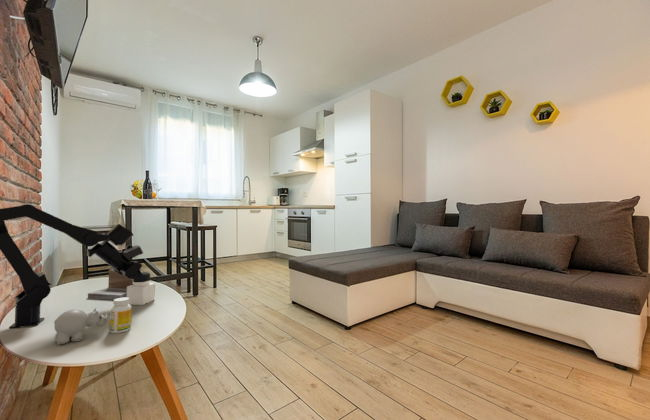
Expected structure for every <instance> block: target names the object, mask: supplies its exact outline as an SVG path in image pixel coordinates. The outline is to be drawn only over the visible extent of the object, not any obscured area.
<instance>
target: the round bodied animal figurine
mask: <svg viewBox="0 0 650 420" xmlns="http://www.w3.org/2000/svg"><path fill="white" fill-rule="evenodd" d="M108 317H109V315H108V313H107V312H106V313H105V316H104V315H102V314H101V313H100V312H99V310H97V308H94V309H93V310H92V311H91V312H88V313H86V312H84V311H83V310H80V309H70V310H66V311H64V312H63V313H61V314H60V315H59V316H58V317H57V318H56V319H55V320H54V322H53V324H54V330H55V332H56V334H55V336H54V340H55V342H56V343H57V345H64V344H66V343H69V342H70V341H71V342H79V341H82V340H83V339H84V333H83V331H84V330H85V329H86V328H87V327H95V326H97V327H103V326H104V325H106V323H107V319H108Z"/></svg>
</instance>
